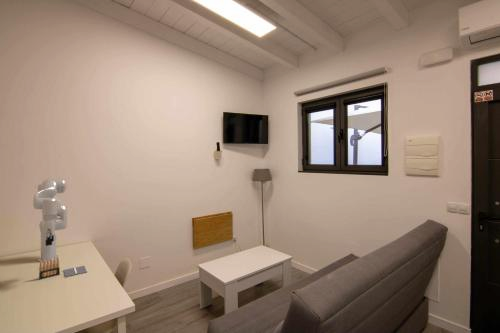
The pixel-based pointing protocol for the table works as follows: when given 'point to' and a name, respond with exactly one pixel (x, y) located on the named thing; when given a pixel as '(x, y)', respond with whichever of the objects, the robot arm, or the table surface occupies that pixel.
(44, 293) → the table surface
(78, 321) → the table surface
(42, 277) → the ammunition clip
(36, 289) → the table surface
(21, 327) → the table surface
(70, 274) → the mat
